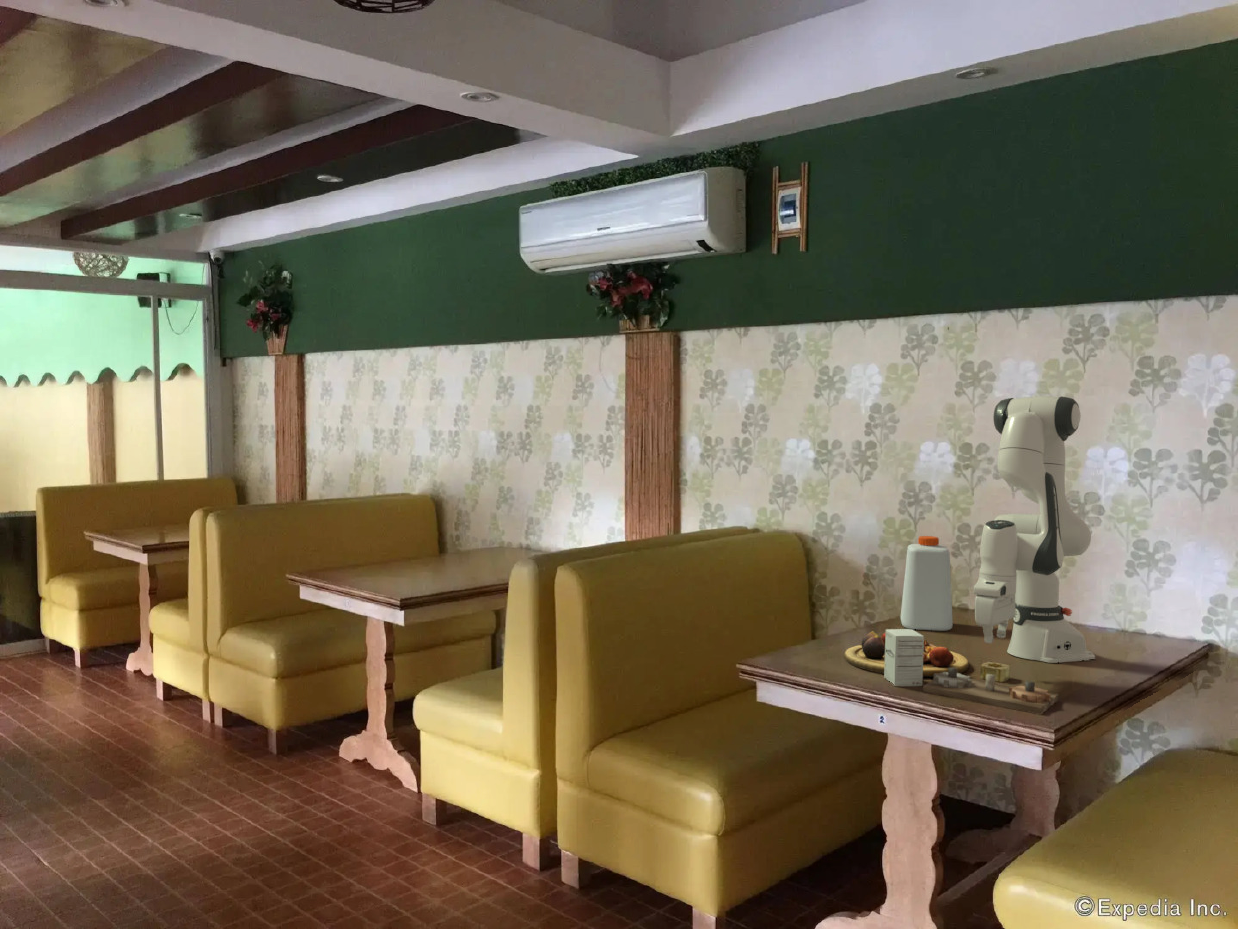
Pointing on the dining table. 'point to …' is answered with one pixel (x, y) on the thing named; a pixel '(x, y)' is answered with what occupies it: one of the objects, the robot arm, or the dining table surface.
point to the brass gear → (995, 671)
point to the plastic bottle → (927, 586)
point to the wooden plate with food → (873, 657)
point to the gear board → (991, 691)
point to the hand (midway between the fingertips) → (995, 640)
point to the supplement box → (904, 657)
